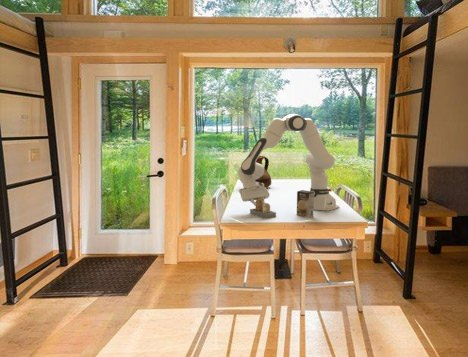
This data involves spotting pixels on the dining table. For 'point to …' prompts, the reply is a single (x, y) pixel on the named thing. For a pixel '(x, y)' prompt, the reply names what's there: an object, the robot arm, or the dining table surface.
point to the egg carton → (263, 215)
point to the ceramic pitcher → (266, 177)
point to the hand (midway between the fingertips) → (259, 204)
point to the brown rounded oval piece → (259, 205)
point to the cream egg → (266, 208)
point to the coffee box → (305, 203)
